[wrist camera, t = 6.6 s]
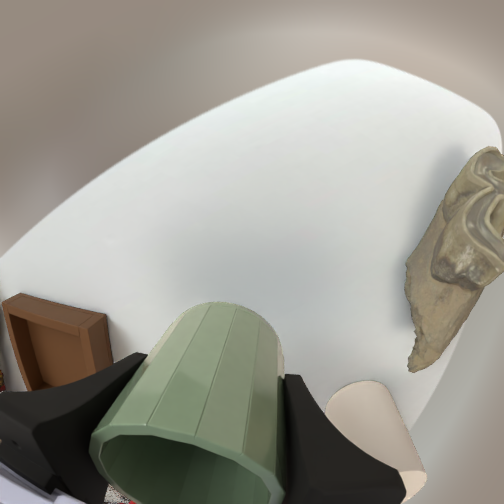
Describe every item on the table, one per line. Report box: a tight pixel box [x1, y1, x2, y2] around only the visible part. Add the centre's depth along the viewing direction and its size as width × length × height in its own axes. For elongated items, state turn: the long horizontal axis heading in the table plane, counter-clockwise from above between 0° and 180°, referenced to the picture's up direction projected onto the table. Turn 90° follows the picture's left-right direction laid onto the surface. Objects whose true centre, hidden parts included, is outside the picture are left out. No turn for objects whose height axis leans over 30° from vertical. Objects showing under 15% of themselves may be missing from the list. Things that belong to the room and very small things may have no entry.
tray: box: [2, 293, 113, 391], centre depth 23 cm, size 12×12×3 cm
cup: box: [89, 302, 286, 504], centre depth 10 cm, size 6×6×8 cm
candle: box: [325, 381, 427, 503], centre depth 16 cm, size 6×6×15 cm
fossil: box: [404, 146, 504, 373], centre depth 16 cm, size 14×10×10 cm
